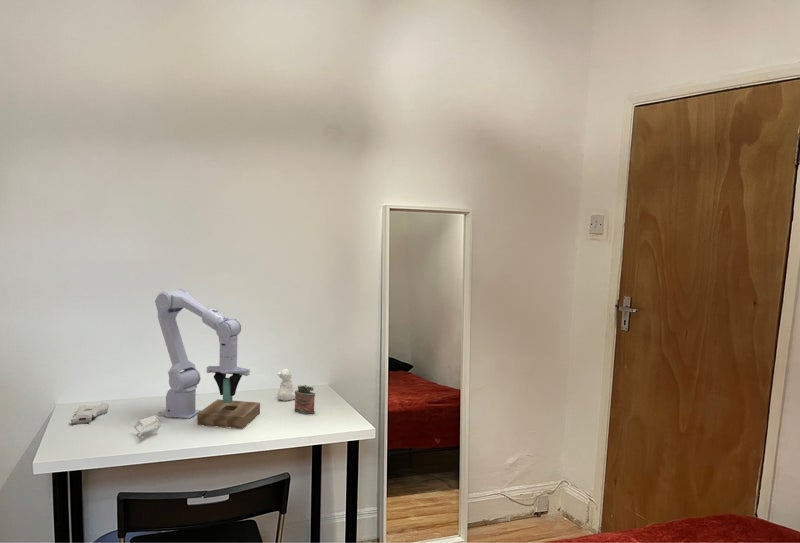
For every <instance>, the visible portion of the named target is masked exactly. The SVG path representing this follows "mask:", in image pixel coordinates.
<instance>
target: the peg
mask: <svg viewBox="0 0 800 543" xmlns="http://www.w3.org/2000/svg"><path fill="white" fill-rule="evenodd" d="M233 397H234V396H231V383H230V377H226V378H223V395H222V400H223V403H231V402H232V401H233Z"/></svg>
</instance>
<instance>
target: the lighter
mask: <svg viewBox="0 0 800 543" xmlns="http://www.w3.org/2000/svg"><path fill="white" fill-rule="evenodd" d="M313 391H314V387H313V386H310V385H309V386H308V385H306V384H304V385H300V384H299V385H297V390H295V391H294V392H295V399H294V409H293V411H295V412H294V413H297V412H298V413H297V414H301V413H303V415H307V414H313V415H315V412H316V411H315V398H316V393H315V392H313Z"/></svg>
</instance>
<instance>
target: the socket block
mask: <svg viewBox="0 0 800 543" xmlns="http://www.w3.org/2000/svg"><path fill="white" fill-rule="evenodd" d="M258 414H259V415H260V414H261V402H255V401H241V400H232V402H231V403H223V399H216V400H215V401H213V402H212V403H210V404H209V405H207V406H205V407H204V408H203V409H202V410H200V412H198V413H197V414H196V417H197V419H196V420H197V421H196V422H197V423H196V425H197V426H202V425H204V427H214V426H218V427H217V428H226V427H231V428H230V429H238V428H244V427H245V426H246V425H247V424H248V423H249V424H250V423H251V422H252V421H253V420H255V419H256V418H257V417H258V416H259V415H258ZM257 415H258V416H257ZM256 416H257V417H256ZM255 417H256V418H255ZM249 424H248V425H249ZM248 425H247V426H248ZM247 426H246V427H247ZM246 427H245V428H246ZM245 428H244V429H245Z"/></svg>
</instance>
